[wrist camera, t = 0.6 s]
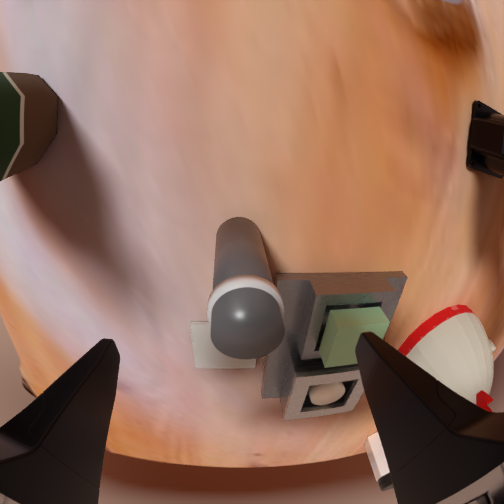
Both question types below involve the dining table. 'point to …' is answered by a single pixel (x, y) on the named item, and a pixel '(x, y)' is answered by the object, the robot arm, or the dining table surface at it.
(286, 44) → the dining table surface
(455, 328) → the kitchen timer
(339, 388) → the button
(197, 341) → the pad
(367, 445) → the jar
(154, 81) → the dining table surface
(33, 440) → the robot arm
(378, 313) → the on button
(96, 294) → the dining table surface
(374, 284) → the grey flat framed piece
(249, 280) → the gray capped cylinder
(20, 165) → the beer bottle
